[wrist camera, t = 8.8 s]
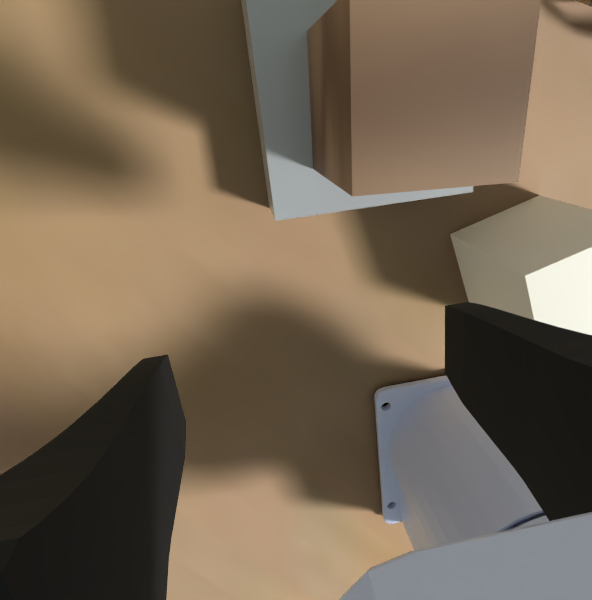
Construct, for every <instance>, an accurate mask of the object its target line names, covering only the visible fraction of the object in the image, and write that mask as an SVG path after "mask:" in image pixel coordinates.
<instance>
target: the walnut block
mask: <svg viewBox="0 0 592 600" xmlns="http://www.w3.org/2000/svg"><path fill="white" fill-rule="evenodd" d="M540 2H541V0H337V1H336V2H335V3H334V4H333V5H332V6H331V7H330V8H329V9H328V10H327V11H326V12H325V13H324V14H323V15H322V16H321V17H320V18H319V19H318V20H317V21H316V22H315V23H314V24H313V25H312V26H311V27H310V28H309V29H308V30H307V45H308V68H309V90H310V113H311V135H312V158H313V169H314V170H315V171H317V172H318V173H319V174H321V175H322V176H324V177H325V178H327V179H328V180H329V181H331V182H332V183H334V184H335V185H337V186H338V187H339V188H341V189H342V190H344V191H345V192H346V193H348V194H349V195H351V196H352V197H353V196H364V195H376V194H388V193H399V192H411V191H422V190H434V189H445V188H457V187H469V186H480V185H492V184H503V183H515V182H519V174H520V166H521V157H522V149H523V141H524V133H525V125H526V117H527V108H528V100H529V92H530V84H531V76H532V68H533V59H534V51H535V43H536V35H537V27H538V18H539V10H540Z"/></svg>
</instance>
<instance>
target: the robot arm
mask: <svg viewBox="0 0 592 600" xmlns="http://www.w3.org/2000/svg"><path fill="white" fill-rule="evenodd" d="M445 374H446V375H445V376H440V377H435V378H429V379H424V380H419V381H413V382H408V383H403V384H397V385H392V386H387V387H382V388H380V389H378V390H377V391H376V393H375V396H374V399H375V413H376V428H377V442H378V457H379V471H380V486H381V500H382V515H383V518H384V520H385V522H386V523H389V524H392V523H397V522H403V525H404V527H405V529H406V532H407V534H408V536H409V539H410V541H411V543H412V546H413V548H414V550H415V551H410V552H408V553H405V554H403V555H401V556H398V557H396V558H393V559H391V560H389V561H386V562H384V563H381V564H379V565H376V566H374V567H372V568H370V569H369V570H368V571H367V572H366V573H365V574H364V575H363V576H362V577H361V578H360V579H359V580H358V581H357V582H356V583H355V584H354V585H353V586H352V587H351V588H350V589H349V590H348V591H347V592H346V593H345V594H344V595H343V596H342V597H341V598H340V599H339V600H592V335H589V334H584V333H580V332H576V331H572V330H568V329H564V328H561V327H557V326H553V325H550V324H546V323H543V322H539V321H536V320H532V319H529V318H526V317H522V316H519V315H516V314H513V313H509V312H506V311H503V310H499V309H496V308H492V307H489V306H485V305H481V304H477V303H471V302H465V303H459V304H453V305H448V306H445ZM384 403H388V404H387V405H386V406H384V407H382V405H383V404H384ZM185 439H186V421H185V417H184V413H183V409H182V406H181V402H180V398H179V394H178V391H177V387H176V383H175V380H174V376H173V372H172V368H171V365H170V361H169V357H168V355H163V356H157V357H152V358H146V359H143V360H141V361H140V362H139V363H138V364H136V365H135V366H134V367H133V368H132V369H131V370H130V371H129V372H128V373H127V374H126V375H125V376H124V377H123V378H122V379H121V380H120V381H119V382H118V383H117V384H116V385H115V386H114V387H113V388H112V389H111V390H110V391H109V392H107V393H106V394H105V395H104V396H103V397H102V398H101V399H100V400H99V401H98V402H97V403H96V404H95V405H94V406H92V407H91V408H90V409H89V410H88V411H87V412H86V413H84V414H83V415H82V416H81V417H80V418H79V419H78V420H76V421H75V422H74V423H73V424H72V425H71V426H70V427H68V428H67V429H66V430H65V431H63V432H62V433H61V434H60V435H58V436H57V437H56V438H54V439H53V440H52V441H50V442H49V443H48V444H46V445H45V446H43V447H42V448H41V449H39V450H38V451H37V452H35V453H34V454H32V455H31V456H29V457H28V458H27V459H25V460H24V461H22V462H20V463H19V464H17V465H16V466H14V467H12V468H11V469H9V470H8V471H6V472H4V473H3V474H1V475H0V600H166V593H167V577H168V561H169V552H170V544H171V536H172V530H173V525H174V519H175V513H176V507H177V501H178V495H179V490H180V484H181V478H182V471H183V465H184V459H185ZM391 502H392V503H391ZM389 503H390V504H389Z"/></svg>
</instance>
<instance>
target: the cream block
mask: <svg viewBox="0 0 592 600" xmlns="http://www.w3.org/2000/svg"><path fill="white" fill-rule="evenodd" d="M450 236H451V239H452V243H453V247H454V250H455V254H456V258H457V261H458V265H459V269H460V272H461V276H462V280H463V283H464V287H465V291H466V294H467V298H468V302H471V303H477V304H481V305H485V306H489V307H492V308H496V309H499V310H503V311H506V312H509V313H513V314H516V315H519V316H522V317H526V318H529V319H532V320H536V321H539V322H543V323H546V324H550V325H553V326H557V327H561V328H564V329H568V330H572V331H576V332H580V333H584V334H589V335H592V210H591V209H587V208H584V207H580V206H576V205H573V204H569V203H565V202H562V201H558V200H555V199H551V198H547V197H544V196H540V195H539V196H536V197H534V198H532V199H529V200H527V201H525V202H523V203H520V204H518V205H516V206H513V207H511V208H509V209H506V210H504V211H502V212H500V213H497V214H495V215H493V216H490V217H488V218H486V219H483V220H481V221H479V222H477V223H474V224H472V225H470V226H467V227H465V228H463V229H461V230H458V231H456V232H454V233H451V234H450Z"/></svg>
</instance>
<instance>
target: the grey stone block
mask: <svg viewBox="0 0 592 600" xmlns="http://www.w3.org/2000/svg"><path fill="white" fill-rule="evenodd" d="M336 1H337V0H241V3H242V10H243V17H244V25H245V32H246V39H247V47H248V54H249V61H250V69H251V76H252V83H253V91H254V98H255V105H256V113H257V120H258V127H259V135H260V142H261V149H262V157H263V164H264V171H265V179H266V186H267V193H268V201H269V208H270V210H271V212H272V215H273V217H274V219H275V221H278V220H285V219H292V218H298V217H305V216H312V215H319V214H326V213H333V212H340V211H347V210H353V209H360V208H367V207H374V206H381V205H388V204H395V203H402V202H408V201H415V200H422V199H429V198H436V197H443V196H450V195H457V194H463V193H470V192H473V186H469V187H457V188H445V189H434V190H422V191H411V192H399V193H388V194H376V195H364V196H353V197H352V196H351V195H349V194H348V193H346V192H345V191H344V190H342V189H341V188H339V187H338V186H337V185H335V184H334V183H332V182H331V181H329V180H328V179H327V178H325V177H324V176H322V175H321V174H319V173H318V172H317V171H315V170H314V169H313V158H312V135H311V113H310V90H309V68H308V45H307V30H308V29H309V28H310V27H311V26H312V25H313V24H314V23H315V22H316V21H317V20H318V19H319V18H320V17H321V16H322V15H323V14H324V13H325V12H326V11H327V10H328V9H329V8H330V7H331V6H332V5H333V4H334V3H335V2H336Z"/></svg>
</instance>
